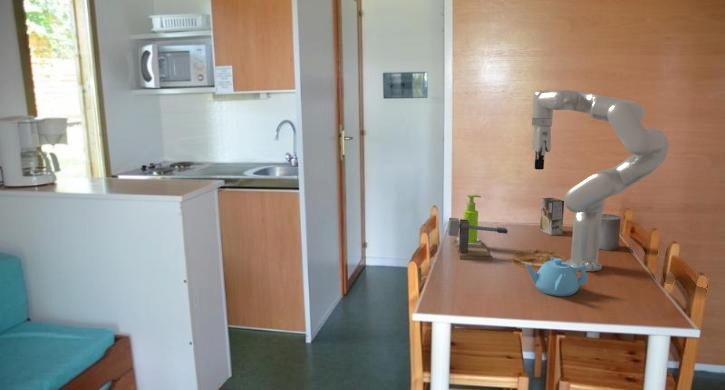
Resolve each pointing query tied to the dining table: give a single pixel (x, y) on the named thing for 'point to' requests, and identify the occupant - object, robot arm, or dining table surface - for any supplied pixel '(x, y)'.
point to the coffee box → (552, 216)
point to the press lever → (455, 225)
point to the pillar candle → (609, 232)
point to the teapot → (558, 277)
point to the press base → (469, 245)
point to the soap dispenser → (472, 218)
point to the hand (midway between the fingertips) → (538, 169)
